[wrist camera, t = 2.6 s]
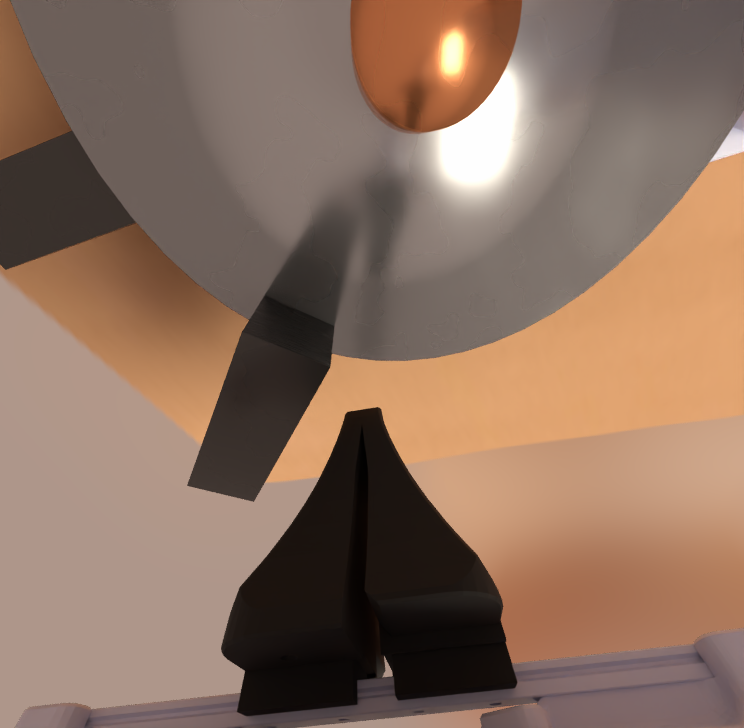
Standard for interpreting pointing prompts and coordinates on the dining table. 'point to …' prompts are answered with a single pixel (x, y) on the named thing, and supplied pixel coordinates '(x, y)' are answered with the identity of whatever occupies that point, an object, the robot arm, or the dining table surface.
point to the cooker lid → (385, 166)
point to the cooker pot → (53, 201)
